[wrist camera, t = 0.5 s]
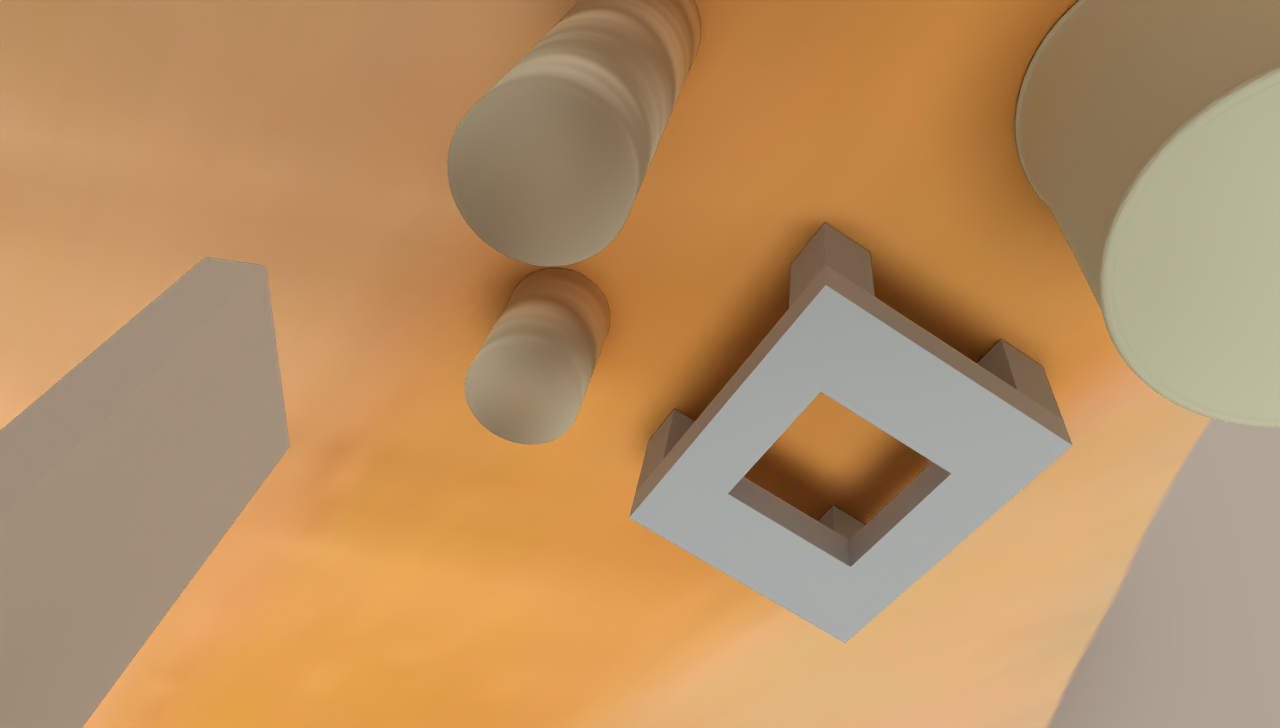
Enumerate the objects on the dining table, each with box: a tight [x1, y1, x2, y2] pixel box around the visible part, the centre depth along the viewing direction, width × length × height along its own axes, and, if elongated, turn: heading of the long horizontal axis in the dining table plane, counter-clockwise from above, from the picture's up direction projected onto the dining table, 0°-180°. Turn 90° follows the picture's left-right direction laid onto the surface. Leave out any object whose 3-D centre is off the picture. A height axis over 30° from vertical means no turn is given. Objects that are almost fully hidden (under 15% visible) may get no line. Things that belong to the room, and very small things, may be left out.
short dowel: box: [465, 268, 610, 444], centre depth 36 cm, size 4×4×6 cm
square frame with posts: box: [629, 223, 1073, 643], centre depth 37 cm, size 10×12×5 cm
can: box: [1015, 0, 1280, 427], centre depth 26 cm, size 9×9×12 cm
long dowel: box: [448, 0, 701, 267], centre depth 27 cm, size 4×4×14 cm
